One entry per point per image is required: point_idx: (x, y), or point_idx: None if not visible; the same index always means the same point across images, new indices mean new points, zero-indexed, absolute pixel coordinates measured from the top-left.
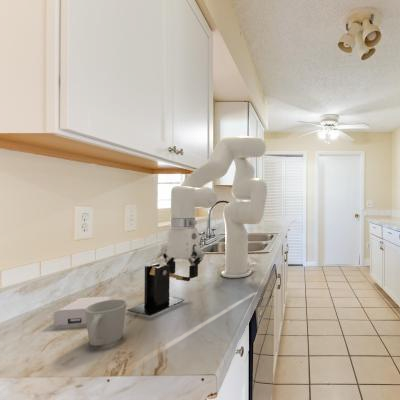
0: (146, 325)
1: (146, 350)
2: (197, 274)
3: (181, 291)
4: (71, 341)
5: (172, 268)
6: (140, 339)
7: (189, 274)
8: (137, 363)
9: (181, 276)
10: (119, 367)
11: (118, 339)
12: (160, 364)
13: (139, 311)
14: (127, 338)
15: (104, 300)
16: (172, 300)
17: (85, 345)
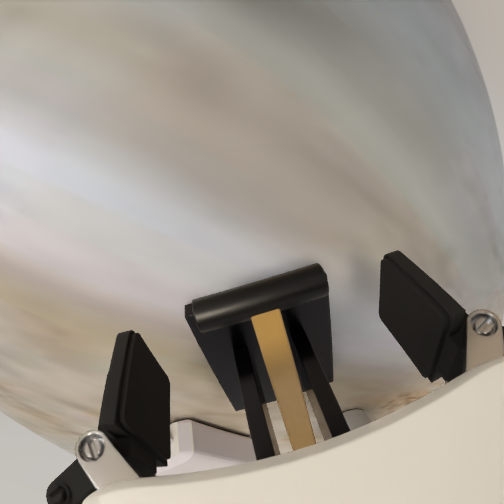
0: (348, 379)
1: (417, 381)
2: (404, 258)
3: (122, 182)
4: (282, 447)
5: (147, 389)
6: (385, 388)
7: (396, 333)
8: (425, 388)
9: (286, 333)
10: (411, 402)
11: (366, 415)
12: None
13: None
14: (360, 401)
15: (213, 464)
16: (284, 310)
17: (317, 435)
